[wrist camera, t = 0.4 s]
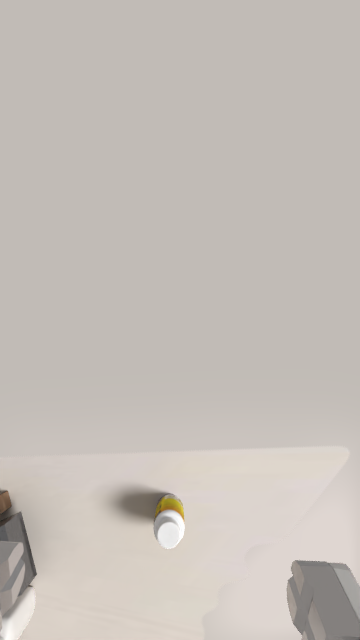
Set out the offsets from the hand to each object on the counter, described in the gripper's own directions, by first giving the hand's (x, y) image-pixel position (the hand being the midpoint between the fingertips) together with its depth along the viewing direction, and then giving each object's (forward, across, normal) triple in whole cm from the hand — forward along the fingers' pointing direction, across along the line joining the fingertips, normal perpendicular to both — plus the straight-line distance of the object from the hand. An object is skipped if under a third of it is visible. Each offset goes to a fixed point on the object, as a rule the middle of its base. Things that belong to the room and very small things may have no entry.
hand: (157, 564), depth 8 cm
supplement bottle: (+38, +2, -42) cm, 57 cm away
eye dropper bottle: (+31, -24, -57) cm, 69 cm away
